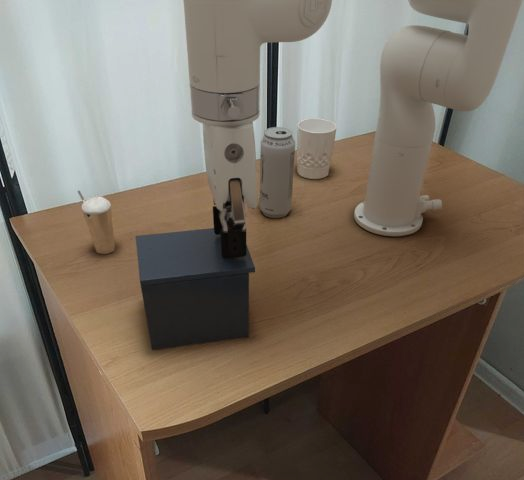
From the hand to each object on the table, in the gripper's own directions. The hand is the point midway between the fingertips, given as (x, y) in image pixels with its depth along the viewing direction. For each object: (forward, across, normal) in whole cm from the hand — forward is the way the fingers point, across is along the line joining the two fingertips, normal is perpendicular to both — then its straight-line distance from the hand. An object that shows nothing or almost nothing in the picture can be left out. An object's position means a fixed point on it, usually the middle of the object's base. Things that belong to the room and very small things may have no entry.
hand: (229, 243), depth 71 cm
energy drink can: (+13, +29, -14) cm, 34 cm away
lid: (+1, 0, +5) cm, 5 cm away
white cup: (+13, +44, -26) cm, 52 cm away
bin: (+12, 0, +5) cm, 13 cm away
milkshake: (+12, +22, +18) cm, 31 cm away
